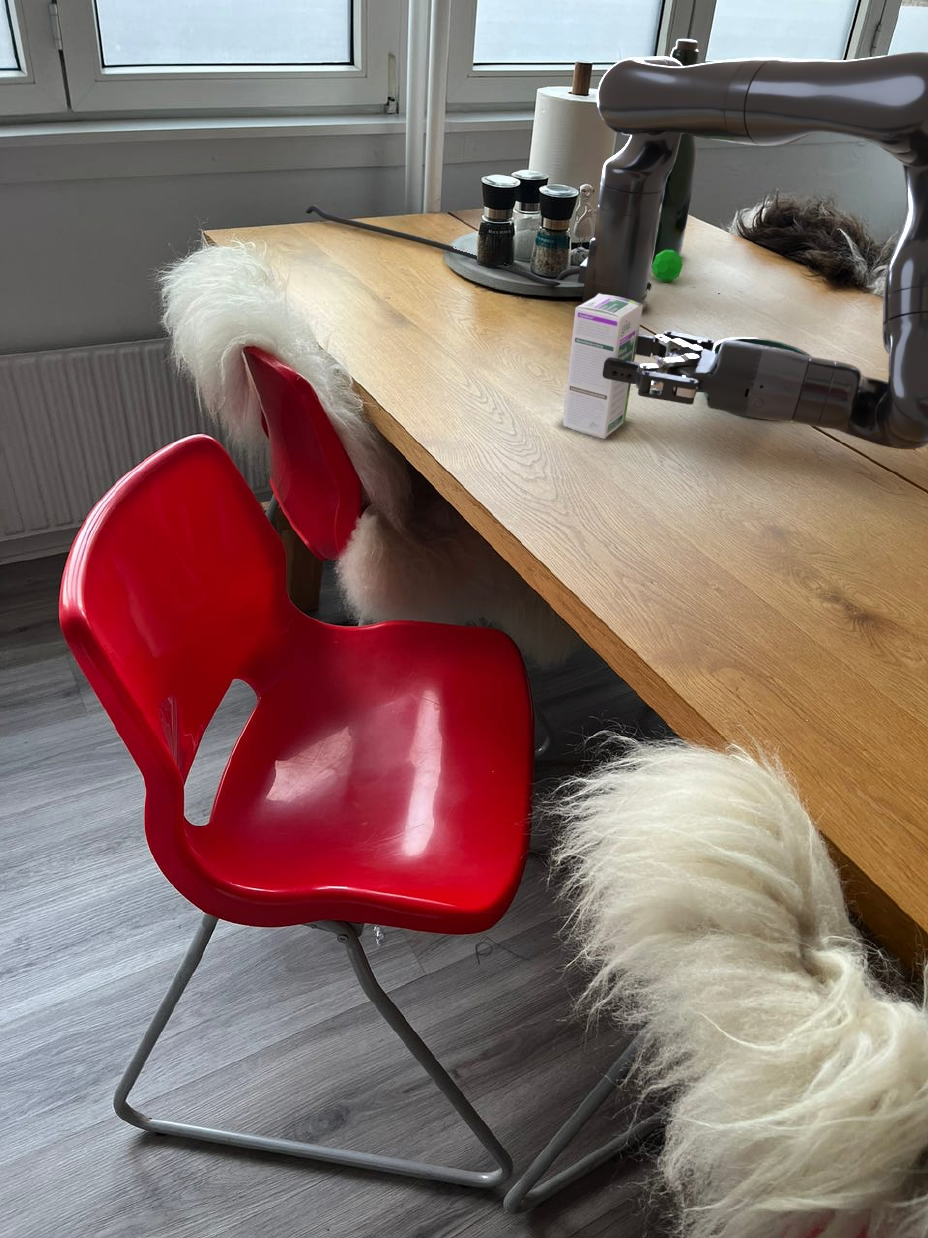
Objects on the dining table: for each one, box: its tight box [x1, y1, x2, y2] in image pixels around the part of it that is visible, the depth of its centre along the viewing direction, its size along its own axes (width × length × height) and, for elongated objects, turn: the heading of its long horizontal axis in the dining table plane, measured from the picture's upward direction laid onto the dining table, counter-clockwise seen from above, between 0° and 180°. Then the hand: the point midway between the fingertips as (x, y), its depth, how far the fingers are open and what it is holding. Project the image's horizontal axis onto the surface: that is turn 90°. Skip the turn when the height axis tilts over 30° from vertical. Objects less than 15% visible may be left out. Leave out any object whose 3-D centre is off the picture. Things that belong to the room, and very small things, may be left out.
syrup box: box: [562, 293, 643, 440], centre depth 108 cm, size 6×6×14 cm
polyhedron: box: [651, 250, 684, 283], centre depth 156 cm, size 5×5×5 cm
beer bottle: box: [652, 38, 700, 262], centre depth 159 cm, size 10×10×33 cm
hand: (612, 353), depth 106 cm, fingers open, 8 cm apart
